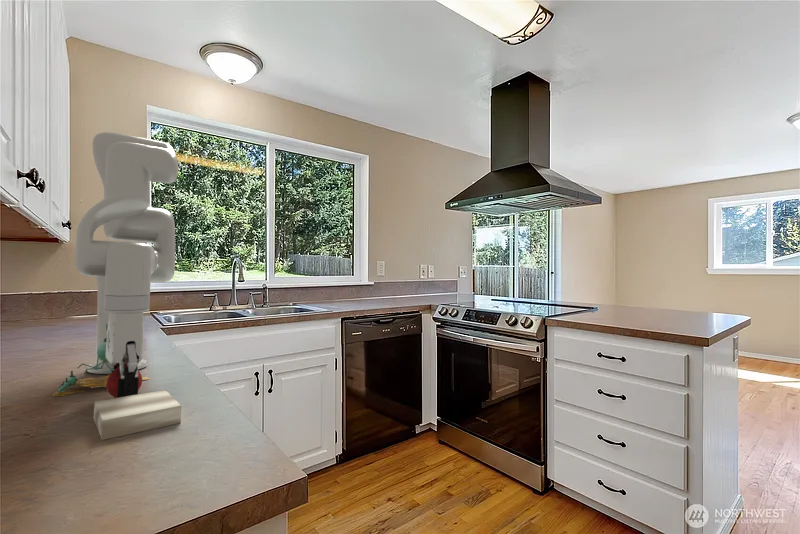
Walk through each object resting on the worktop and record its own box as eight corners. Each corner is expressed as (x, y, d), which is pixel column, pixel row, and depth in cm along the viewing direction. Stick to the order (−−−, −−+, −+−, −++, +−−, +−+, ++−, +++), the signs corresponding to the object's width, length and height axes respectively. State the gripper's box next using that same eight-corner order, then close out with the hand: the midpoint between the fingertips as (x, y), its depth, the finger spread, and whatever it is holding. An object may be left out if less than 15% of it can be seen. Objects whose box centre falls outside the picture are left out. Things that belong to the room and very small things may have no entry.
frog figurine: (45, 389, 84) (58, 320, 85) (142, 383, 97) (152, 322, 99) (51, 400, 77) (65, 324, 79) (154, 391, 91) (164, 327, 92)
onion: (123, 407, 75) (124, 365, 75) (98, 404, 76) (99, 362, 76) (148, 397, 81) (149, 358, 81) (124, 394, 82) (126, 356, 82)
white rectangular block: (93, 418, 69) (94, 401, 69) (164, 405, 77) (165, 389, 77) (102, 440, 61) (102, 420, 61) (180, 422, 69) (181, 405, 69)
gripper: (98, 301, 82) (95, 386, 82) (110, 309, 70) (107, 410, 70) (140, 300, 87) (137, 380, 87) (159, 307, 75) (156, 401, 75)
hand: (124, 392), depth 78 cm, fingers open, 6 cm apart
